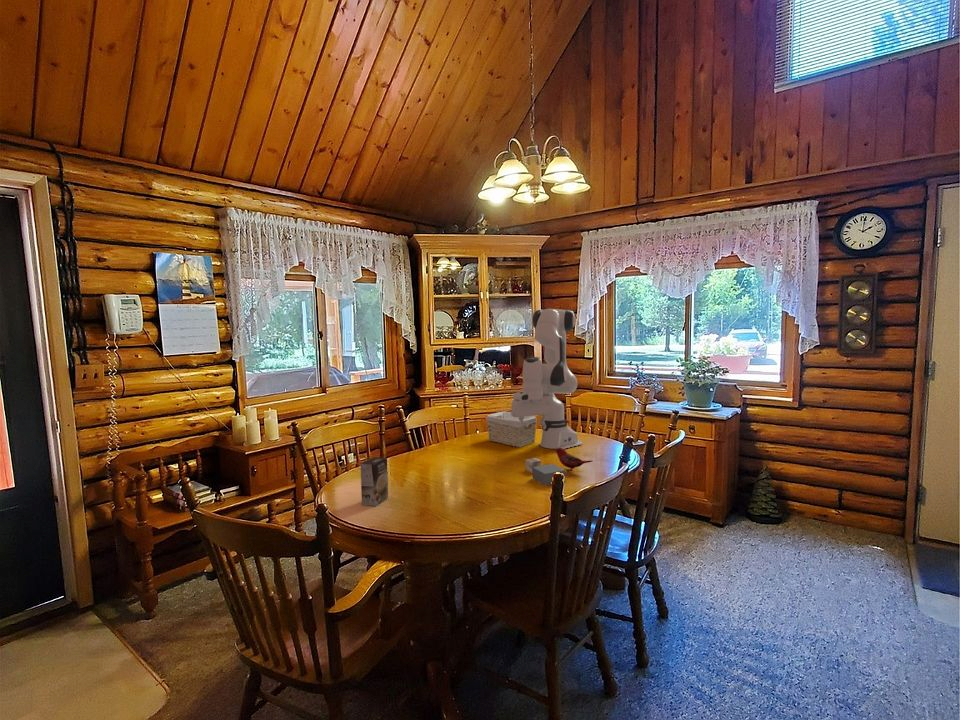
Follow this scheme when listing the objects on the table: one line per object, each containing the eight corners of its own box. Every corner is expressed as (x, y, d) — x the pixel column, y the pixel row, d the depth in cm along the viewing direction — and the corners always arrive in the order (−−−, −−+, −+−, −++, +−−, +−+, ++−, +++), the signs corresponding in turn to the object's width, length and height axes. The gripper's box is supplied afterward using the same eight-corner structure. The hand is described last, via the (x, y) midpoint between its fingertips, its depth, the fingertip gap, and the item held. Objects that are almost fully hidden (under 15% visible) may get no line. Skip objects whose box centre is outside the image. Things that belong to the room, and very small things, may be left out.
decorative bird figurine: (556, 468, 230) (556, 446, 229) (594, 473, 221) (594, 451, 220) (553, 469, 228) (553, 448, 227) (592, 475, 219) (592, 453, 218)
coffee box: (375, 506, 189) (374, 464, 187) (361, 504, 191) (359, 463, 190) (389, 498, 197) (387, 457, 196) (374, 496, 200) (373, 456, 198)
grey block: (552, 475, 221) (552, 463, 220) (565, 481, 212) (565, 470, 211) (532, 478, 217) (532, 467, 216) (545, 485, 208) (544, 473, 207)
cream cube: (535, 468, 231) (535, 457, 230) (541, 471, 226) (541, 460, 226) (525, 470, 228) (525, 459, 228) (531, 473, 224) (531, 462, 223)
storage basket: (538, 442, 275) (538, 415, 273) (519, 449, 263) (519, 421, 262) (504, 435, 291) (504, 410, 290) (485, 441, 279) (485, 415, 278)
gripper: (548, 391, 231) (549, 421, 232) (509, 395, 222) (509, 426, 224) (556, 393, 225) (556, 424, 227) (516, 397, 217) (516, 429, 218)
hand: (532, 425), depth 225 cm, fingers open, 8 cm apart
